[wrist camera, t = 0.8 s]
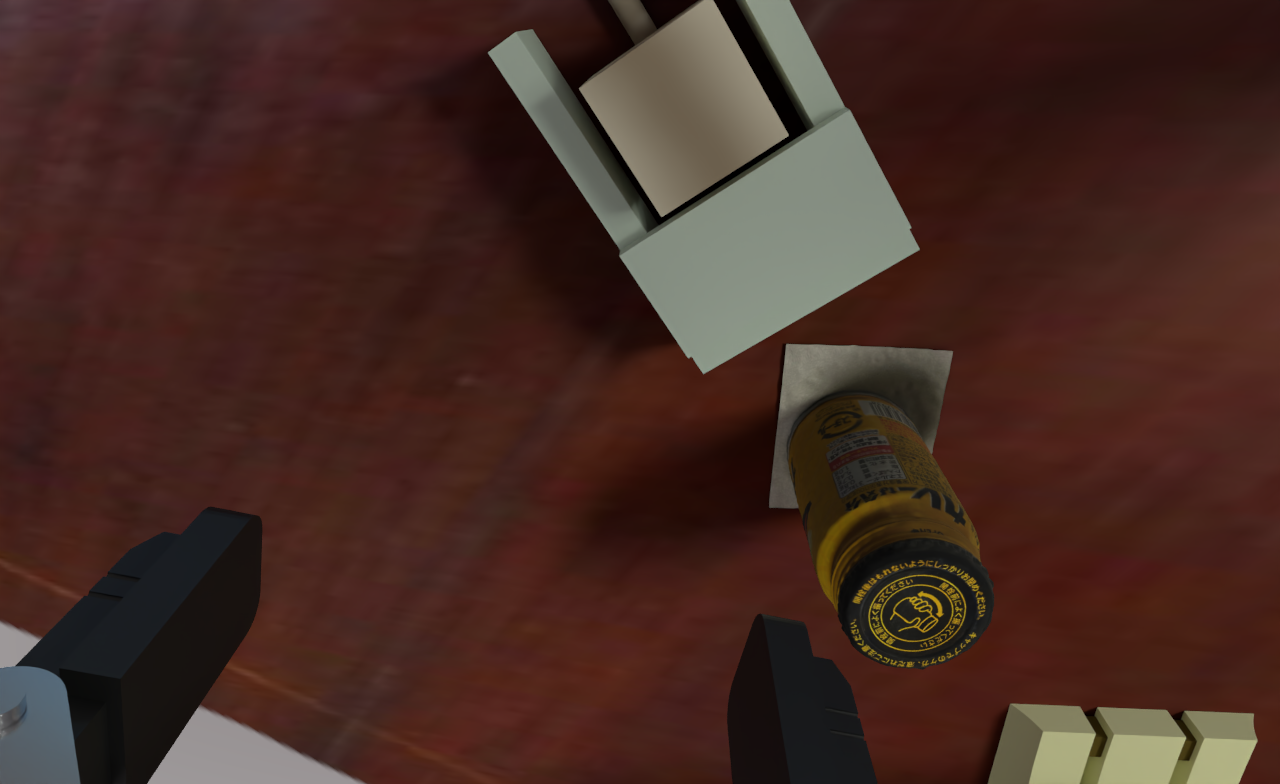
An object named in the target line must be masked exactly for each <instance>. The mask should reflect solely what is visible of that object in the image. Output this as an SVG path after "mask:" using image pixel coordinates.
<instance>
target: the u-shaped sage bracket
mask: <svg viewBox="0 0 1280 784" xmlns="http://www.w3.org/2000/svg"><path fill="white" fill-rule="evenodd" d="M736 2H737V4H738V5H739V7H740V9H741V11H742V13H743V15H744V16H745V18H746V20H747V22H748V24H749V26H750V27H751V29H752V31H753V33H754V35H755V36H756V38H757V40H758V42H759V44H760V46H761V47H762V49H763V51H764V53H765V55H766V57H767V58H768V60H769V62H770V64H771V66H772V67H773V69H774V71H775V73H776V75H777V77H778V78H779V80H780V82H781V84H782V86H783V88H784V89H785V91H786V93H787V95H788V97H789V98H790V100H791V102H792V104H793V106H794V108H795V109H796V111H797V113H798V115H799V117H800V119H801V120H802V122H803V124H804V126H805V128H806V129H807V132H805V133H804V134H802V135H801V136H799V137H797V138H796V139H794V140H793V141H791V142H790V143H788V144H786V145H785V146H783V147H782V148H780V149H779V150H777V151H775V152H774V153H772V154H771V155H769V156H768V157H766V158H764V159H763V160H761V161H760V162H758V163H757V164H755V165H753V166H752V167H750V168H749V169H747V170H746V171H744V172H742V173H741V174H739V175H738V176H736V177H735V178H733V179H731V180H730V181H728V182H727V183H725V184H724V185H722V186H720V187H719V188H717V189H716V190H714V191H713V192H711V193H709V194H708V195H706V196H705V197H703V198H702V199H700V200H698V201H697V202H695V203H694V204H692V205H691V206H689V207H687V208H686V209H684V210H683V211H681V212H680V213H678V214H676V215H675V216H673V217H672V218H670V219H669V220H667V221H665V222H664V223H662V224H661V225H658V223H657V222H656V220H655V219H654V217H653V215H652V214H651V212H650V211H649V209H648V208H647V206H646V205H645V203H644V202H643V200H642V198H641V197H640V195H639V194H638V192H637V191H636V189H635V188H634V186H633V184H632V183H631V181H630V180H629V178H628V177H627V175H626V174H625V172H624V170H623V169H622V167H621V166H620V164H619V163H618V161H617V160H616V158H615V157H614V155H613V153H612V152H611V150H610V149H609V147H608V146H607V144H606V143H605V141H604V139H603V138H602V136H601V135H600V133H599V132H598V130H597V129H596V127H595V125H594V124H593V122H592V121H591V119H590V118H589V116H588V115H587V113H586V112H585V110H584V108H583V107H582V105H581V104H580V102H579V101H578V99H577V98H576V96H575V94H574V93H573V91H572V90H571V88H570V87H569V85H568V84H567V82H566V80H565V79H564V77H563V76H562V74H561V73H560V71H559V70H558V68H557V67H556V65H555V63H554V62H553V60H552V59H551V57H550V56H549V54H548V53H547V51H546V49H545V48H544V46H543V45H542V43H541V42H540V40H539V39H538V37H537V35H536V34H535V32H534V31H533V29H531V30H525V31H519V32H515V33H514V34H512V35H511V36H510V37H508V38H507V39H506V40H504V41H503V42H502V43H500V44H499V45H497V46H496V47H495V48H493V49H492V50H491V51H489V52H488V54H489V55H490V57H491V58H492V60H493V61H494V63H495V64H496V66H497V67H498V69H499V70H500V72H501V73H502V75H503V76H504V78H505V79H506V81H507V82H508V84H509V85H510V87H511V88H512V90H513V91H514V93H515V94H516V96H517V97H518V99H519V100H520V102H521V103H522V105H523V106H524V108H525V109H526V111H527V112H528V114H529V115H530V116H531V118H532V119H533V121H534V122H535V124H536V125H537V127H538V128H539V130H540V131H541V133H542V134H543V136H544V137H545V139H546V140H547V142H548V143H549V145H550V146H551V148H552V149H553V151H554V152H555V154H556V155H557V157H558V158H559V160H560V161H561V163H562V164H563V166H564V167H565V169H566V170H567V172H568V173H569V175H570V176H571V178H572V179H573V181H574V182H575V184H576V185H577V187H578V188H579V190H580V191H581V193H582V194H583V195H584V197H585V198H586V200H587V201H588V203H589V204H590V206H591V207H592V209H593V210H594V212H595V213H596V215H597V216H598V218H599V219H600V221H601V222H602V224H603V225H604V227H605V228H606V230H607V231H608V233H609V234H610V236H611V237H612V239H613V240H614V242H615V243H616V245H617V246H618V248H619V249H620V254H619V256H620V258H621V259H622V261H623V262H624V264H625V265H626V267H627V268H628V270H629V271H630V273H631V274H632V276H633V277H634V279H635V280H636V282H637V283H638V285H639V286H640V288H641V289H642V291H643V292H644V294H645V295H646V296H647V298H648V299H649V301H650V302H651V304H652V305H653V307H654V308H655V310H656V311H657V313H658V314H659V316H660V317H661V319H662V320H663V322H664V323H665V325H666V326H667V328H668V329H669V331H670V332H671V334H672V335H673V337H674V338H675V340H676V341H677V343H678V344H679V346H680V347H681V348H682V350H683V351H684V353H685V354H686V356H687V357H688V358H689V357H691V356H692V358H693V359H694V361H695V362H696V364H697V365H698V367H699V368H700V370H701V371H702V373H703V374H704V373H706V372H708V371H710V370H711V369H713V368H715V367H717V366H718V365H720V364H722V363H724V362H725V361H727V360H729V359H731V358H732V357H734V356H736V355H738V354H739V353H741V352H743V351H744V350H746V349H748V348H750V347H751V346H753V345H755V344H757V343H758V342H760V341H762V340H764V339H765V338H767V337H769V336H771V335H772V334H774V333H776V332H777V331H779V330H781V329H783V328H784V327H786V326H788V325H790V324H791V323H793V322H795V321H797V320H798V319H800V318H802V317H804V316H805V315H807V314H809V313H811V312H812V311H814V310H816V309H817V308H819V307H821V306H823V305H824V304H826V303H828V302H830V301H831V300H833V299H835V298H837V297H838V296H840V295H842V294H844V293H845V292H847V291H849V290H851V289H852V288H854V287H856V286H857V285H859V284H861V283H863V282H864V281H866V280H868V279H870V278H871V277H873V276H875V275H877V274H878V273H880V272H882V271H884V270H885V269H887V268H889V267H890V266H892V265H894V264H896V263H897V262H899V261H901V260H903V259H904V258H906V257H908V256H910V255H911V254H913V253H915V252H917V251H918V250H920V249H919V247H918V245H917V243H916V241H915V239H914V237H913V235H912V234H911V232H910V230H909V229H910V228H911V226H910V224H909V222H908V220H907V218H906V216H905V214H904V212H903V210H902V208H901V207H900V205H899V203H898V201H897V199H896V197H895V195H894V193H893V191H892V189H891V187H890V186H889V184H888V182H887V180H886V178H885V176H884V174H883V172H882V170H881V168H880V166H879V165H878V163H877V161H876V159H875V157H874V155H873V153H872V151H871V149H870V147H869V145H868V144H867V142H866V140H865V138H864V136H863V134H862V132H861V130H860V128H859V126H858V124H857V123H856V121H855V119H854V117H853V115H852V113H851V111H850V110H849V109H848V108H846V107H845V106H844V104H843V102H842V100H841V98H840V96H839V95H838V93H837V91H836V89H835V87H834V85H833V83H832V81H831V79H830V77H829V76H828V74H827V72H826V70H825V68H824V66H823V64H822V62H821V60H820V58H819V56H818V55H817V53H816V51H815V49H814V47H813V45H812V43H811V41H810V39H809V37H808V36H807V34H806V32H805V30H804V28H803V26H802V24H801V22H800V20H799V18H798V17H797V15H796V13H795V11H794V9H793V7H792V5H791V3H790V1H789V0H736Z"/></svg>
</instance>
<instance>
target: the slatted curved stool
mask: <svg viewBox="0 0 1280 784" xmlns="http://www.w3.org/2000/svg"><path fill="white" fill-rule="evenodd" d="M1253 718H1254V714H1248V713H1224V712H1200V711H1184V713H1183V715H1182V718H1181V720H1174V719H1173V718H1172V717H1171V715H1170V714H1169V713H1168V711H1167V710H1151V709H1127V708H1103V707H1097V709H1096V712H1095V715H1094V716H1085V715H1084V713H1083V711H1082V709H1081V708H1080V707H1079V706H1054V705H1030V704H1010V706H1009V710H1008V713H1007V717H1006V721H1005V724H1004V728H1003V731H1002V735H1001V738H1000V742H999V745H998V749H997V752H996V756H995V759H994V763H993V767H992V770H991V774H990V777H989V781H988V784H1239V782H1240V779H1241V777H1242V774H1243V772H1244V770H1245V767H1246V765H1247V763H1248V761H1249V758H1250V756H1251V754H1252V752H1253V749H1254V747H1255V745H1256V743H1257V738H1256V735H1255V731H1254V725H1253Z"/></svg>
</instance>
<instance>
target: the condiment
mask: <svg viewBox="0 0 1280 784" xmlns="http://www.w3.org/2000/svg"><path fill="white" fill-rule="evenodd" d="M952 354H953V351H944V350H931V349H914V348H894V347H868V346H857V345H851V346H831V345H800V344H786V351H785V362H784V370H783V381H782V390H781V399H780V409H779V417H778V425H777V433H776V442H775V452H774V461H773V470H772V481H771V489H770V499H769V508H799V510H800V514H801V517H802V520H803V526H804V530H805V533H806V536H807V540H808V543H809V547H810V552H811V556H812V560H813V564H814V566H815V571H816V574H817V576H818V580H819V582H820V584H821V587H822V589H823V591H824V593H825V595H826V596H827V597H828V598H829V599H830V601H831V602H832V603H833V605H834V607H835V609H836V611H837V612H838V617H839V621H840V622H841V624H842V630H843V631H844V632H845V634H846V635H847V636H848V638H849V639H850V642H851V644H852V645H853V647H854V648H855V649H856V650H858V651H859V652H860V653H861V654H863V655H864V656H866V657H868V658H870V659H872V660H874V661H876V662H878V663H880V664H883V665H886V666H892V667H900V668H918V669H925V668H926V667H928V666H932V665H938V664H941V663H945V662H947V661H949V660H951V659H953V658H955V657H956V656H958V655H960V654H961V653H963V652H964V651H967V650H968V649H970V648H971V647H972V645H974V644H975V643H976V642H977V640H978V639H979V638H980V636H981V635H982V634H983V632H984V631H985V630H986V629H987V627H988V625H989V624H990V622H991V618H992V611H993V607H994V594H993V591H992V588H993V587H994V584H993V581H992V580H991V579H990V578H989V575H988V572H987V569H986V568H985V567H983V566H982V563H981V560H980V553H979V541H978V537H977V533H976V531H975V528H974V526H973V524H972V522H971V520H970V519H969V517H968V515H967V514H966V512H965V510H964V508H963V507H962V505H961V503H960V501H959V500H958V498H957V497H956V495H955V493H954V492H953V490H952V488H951V486H950V485H949V483H948V481H947V479H946V478H945V476H944V474H943V473H942V471H941V469H940V468H939V466H938V464H937V462H936V460H935V459H934V457H933V456H932V452H933V444H934V440H935V437H936V431H937V428H938V424H939V420H940V412H941V407H942V404H943V396H944V392H945V387H946V383H947V379H948V375H949V371H950V364H951V359H952Z"/></svg>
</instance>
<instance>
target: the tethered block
mask: <svg viewBox="0 0 1280 784" xmlns="http://www.w3.org/2000/svg"><path fill="white" fill-rule="evenodd" d="M608 1H609V3H610V5H611V6H612V8H613V10H614V11H615V13H616V15H617V16H618V18H619V20H620V21H621V23H622V24H623V26H624V28H625V29H626V31H627V33H628V34H629V36H630V38H631V39H632V41H633V43H634V44H635V46H633V47H632V48H631V49H629V50H628V51H626V52H625V53H624V54H622V55H621V56H619V57H618V58H616V59H615V60H614V61H612V62H611V63H609V64H608V65H607V66H605V67H604V68H602V69H601V70H599V71H598V72H597V73H595V74H594V75H592V76H591V77H590V78H589V79H588V80H587V81H586V82H585V83H584V84H583V85H582V86H581V87H580V88H579V90H580V91H581V93H582V95H583V96H584V98H585V99H586V101H587V102H588V104H589V105H590V107H591V109H592V110H593V112H594V113H595V115H596V116H597V118H598V119H599V121H600V123H601V124H602V126H603V127H604V129H605V130H606V132H607V133H608V135H609V137H610V138H611V140H612V141H613V143H614V144H615V146H616V147H617V149H618V151H619V152H620V154H621V155H622V157H623V158H624V160H625V161H626V163H627V165H628V166H629V168H630V169H631V171H632V172H633V174H634V175H635V177H636V179H637V180H638V182H639V183H640V185H641V186H642V188H643V189H644V191H645V193H646V194H647V196H648V197H649V199H650V200H651V202H652V203H653V205H654V207H655V208H656V210H657V211H658V213H659V214H660V216H661V217H663V216H664V215H666V214H668V213H669V212H671V211H672V210H674V209H675V208H677V207H679V206H680V205H682V204H683V203H685V202H686V201H688V200H689V199H691V198H693V197H694V196H696V195H697V194H699V193H700V192H702V191H704V190H705V189H707V188H708V187H710V186H711V185H713V184H714V183H716V182H718V181H719V180H721V179H722V178H724V177H725V176H727V175H729V174H730V173H732V172H733V171H735V170H736V169H738V168H739V167H741V166H743V165H744V164H746V163H747V162H749V161H750V160H752V159H754V158H755V157H757V156H758V155H760V154H761V153H763V152H764V151H766V150H768V149H769V148H771V147H772V146H774V145H775V144H777V143H779V142H780V141H782V140H783V139H785V138H786V137H788V136H789V134H788V133H787V131H786V129H785V127H784V125H783V124H782V122H781V120H780V118H779V117H778V115H777V113H776V111H775V109H774V108H773V106H772V104H771V102H770V101H769V99H768V97H767V95H766V93H765V92H764V90H763V88H762V86H761V84H760V83H759V81H758V79H757V77H756V76H755V74H754V72H753V70H752V68H751V67H750V65H749V63H748V61H747V59H746V58H745V56H744V54H743V52H742V51H741V49H740V47H739V45H738V43H737V42H736V40H735V38H734V36H733V34H732V33H731V31H730V29H729V27H728V26H727V24H726V22H725V20H724V18H723V17H722V15H721V13H720V11H719V9H718V8H717V6H716V4H715V2H714V1H713V0H699V1H697V2H696V3H694V4H693V5H691V6H690V7H689V8H687V9H686V10H684V11H683V12H682V13H680V14H679V15H677V16H676V17H674V18H673V19H672V20H670V21H669V22H667V23H666V24H665V25H663V26H662V27H660V28H659V29H657V28H656V26H655V25H654V23H653V21H652V20H651V18H650V16H649V15H648V13H647V11H646V10H645V8H644V6H643V4H642V3H641V1H640V0H608Z"/></svg>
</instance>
